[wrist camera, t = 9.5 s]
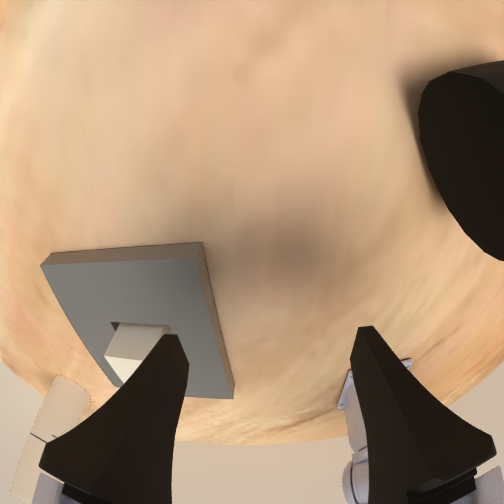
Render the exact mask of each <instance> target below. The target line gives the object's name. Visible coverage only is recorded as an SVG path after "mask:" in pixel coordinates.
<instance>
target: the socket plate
mask: <svg viewBox="0 0 504 504" xmlns="http://www.w3.org/2000/svg"><path fill="white" fill-rule="evenodd" d="M40 266H41V268H42V270H43V273H44V275H45V277H46V279H47V281H48V283H49V285H50V287H51V289H52V291H53V293H54V295H55V297H56V299H57V300H58V302H59V304H60V306H61V308H62V309H63V311H64V313H65V315H66V316H67V318H68V320H69V322H70V323H71V325H72V326H73V328H74V330H75V331H76V333H77V335H78V336H79V338H80V339H81V341H82V342H83V344H84V345H85V347H86V348H87V350H88V351H89V353H90V354H91V356H92V357H93V358H94V360H95V361H96V363H97V364H98V365H99V367H100V368H101V369H102V371H103V372H104V373H105V375H106V376H107V377H108V379H109V380H110V381H111V382H112V384H113V385H114V386H115V387H120V388H121V386H122V385H123V384H124V383H123V382H122V381H121V379H120V378H119V377H118V375H117V374H116V372H115V371H114V370H113V368H112V367H111V366H110V364H109V363H108V361H107V360H106V358H105V357H104V354H105V352H106V350H107V348H108V346H109V344H110V342H111V340H112V338H113V336H114V334H115V332H116V330H117V328H118V326H119V324H120V323H137V324H158V325H169V327H170V330H171V332H172V334H177V335H178V337H179V340H180V342H181V345H182V347H183V350H184V352H185V354H186V357H187V359H188V362H189V364H190V365H189V374H188V382H187V388H186V392H185V397H198V398H215V399H233V397H234V387H235V383H234V380H233V376H232V372H231V368H230V364H229V361H228V357H227V353H226V349H225V345H224V340H223V336H222V332H221V328H220V324H219V319H218V315H217V311H216V306H215V302H214V297H213V293H212V288H211V284H210V279H209V274H208V269H207V265H206V260H205V255H204V250H203V245H202V242H198V243H183V244H168V245H153V246H139V247H125V248H112V249H99V250H86V251H73V252H61V253H52V254H51V255H50V256H49V257H48V258H47V259H46V260H45V261H44V262H43V263H42V264H41V265H40Z"/></svg>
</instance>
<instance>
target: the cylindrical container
mask: <svg viewBox="0 0 504 504" xmlns="http://www.w3.org/2000/svg"><path fill="white" fill-rule="evenodd" d="M89 400H90V395H89V393H88V392H87V391H86V390H85V389H84V388H83V387H81V386H80V385H79V384H77V383H76V382H74V381H73V380H71V379H69V378H67V377H65V376H62V375H56V377H55V379H54V381H53V383H52V385H51V387H50V389H49V391H48V393H47V395H46V397H45V399H44V401H43V404H42V406H41V408H40V410H39V412H38V415H37V417H36V419H35V422H34V424H33V426H32V429H31V431H30V434H29V436H28V439H27V441H26V444H25V447H24V449H23V452H22V455H21V458H20V461H19V463H18V466H17V470H16V473H15V476H14V480H13V483H12V487H11V490H10V492H11V493H12V494H13V495H14V496H15V497H16V498H18V499H19V500H20V501H22V502H23V503H25V504H32V500H33V496H34V492H35V489H36V485H37V482H38V478H39V475H40V473H41V472H42V473H44V474H46V475H48V476H49V477H51V478H53V479H55V480H57V481H59V482H61V480H59V479H57V478H56V477H54V476H52V475H50V474H49V473H47V472H45V471H44V470H42V469H41V468H39V466H38V465H39V462H40V459H41V456H42V453H43V450H44V447H45V445H46V443H48V442H50V441H52V440H54V439H56V438H57V437H59V436H61V435H63V434H65V433H67V432H68V431H70V430H71V429H73V428H74V427H76V426H77V425H79V424H80V423H81V420H82V417H83V415H84V412H85V410H86V407H87V405H88V402H89Z"/></svg>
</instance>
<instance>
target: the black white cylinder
mask: <svg viewBox="0 0 504 504" xmlns="http://www.w3.org/2000/svg"><path fill="white" fill-rule="evenodd" d="M418 117H419V127H420V139H421V143H422V146H423V150H424V153H425V157H426V160H427V164H428V168H429V170H430V172H431V175H432V177H433V179H434V182H435V184H436V186H437V189H438V191H439V192H440V194H441V196H442V198H443V200H444V202H445V204H446V206H447V208H448V210H449V211H450V212H451V214H452V215H453V216H454V218H455V219H456V221H457V222H458V223H459V225H460V226H461V228H462V229H463V231H464V232H465V234H466V235H467V236H469V237H470V238H471V239H472V240H473V241H474V242H475V243H476V244H477V245H478V246H479V247H480V248H481V249H482V250H483V251H484V252H485V253H487V254H489V255H491V256H492V257H494V258H496V259H498V260H501V261H504V60H503V61H497V62H491V63H485V64H480V65H475V66H471V67H466V68H462V69H458V70H454V71H450V72H448V73H446V74H443V75H441V76H439V77H437V78H435V79H433V80H431V81H429V83H428V84H427V86H426V88H425V90H424V92H423V93H422V95H421V101H420V106H419V111H418Z"/></svg>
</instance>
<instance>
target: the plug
mask: <svg viewBox="0 0 504 504" xmlns="http://www.w3.org/2000/svg"><path fill="white" fill-rule="evenodd" d="M163 334H172V332H171V330H170V327H169V325H158V324H137V323H120V324H119V326H118V328H117V330H116V332H115V334H114V336H113V338H112V340H111V342H110V344H109V346H108V348H107V350H106V352H105V354H104V357H105V358H106V360H107V361H108V363H109V364H110V366H111V367H112V368H113V370H114V371H115V372H116V374H117V375H118V377H119V378H120V379H121V381H122V382H123V383H125V382H126V381H127V380H128V378H129V377H130V376H131V375H132V374H133V373H134V371H135V370H136V369H137V368H138V366H139V365H140V364H141V363H142V361H143V360H144V359H145V358H146V356H147V355H148V354H149V352H150V351H151V350H152V348H153V347H154V346H155V344H156V343H157V342H158V341H159V339H160V338H161V337H162V335H163Z"/></svg>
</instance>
